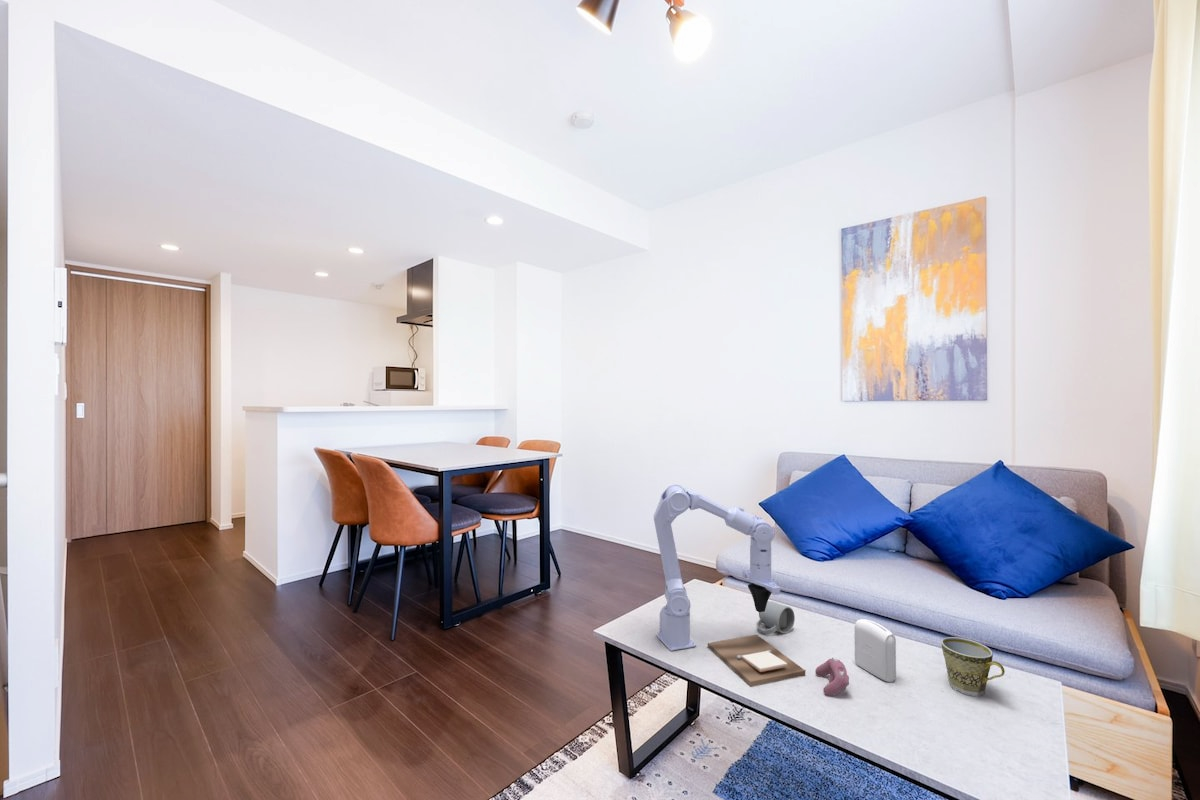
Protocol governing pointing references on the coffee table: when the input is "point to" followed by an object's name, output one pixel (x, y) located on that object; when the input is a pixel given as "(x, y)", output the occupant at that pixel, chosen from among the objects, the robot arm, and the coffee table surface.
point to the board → (748, 673)
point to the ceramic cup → (968, 665)
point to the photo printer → (875, 649)
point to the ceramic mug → (776, 618)
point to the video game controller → (833, 676)
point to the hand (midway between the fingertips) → (760, 610)
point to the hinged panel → (763, 661)
